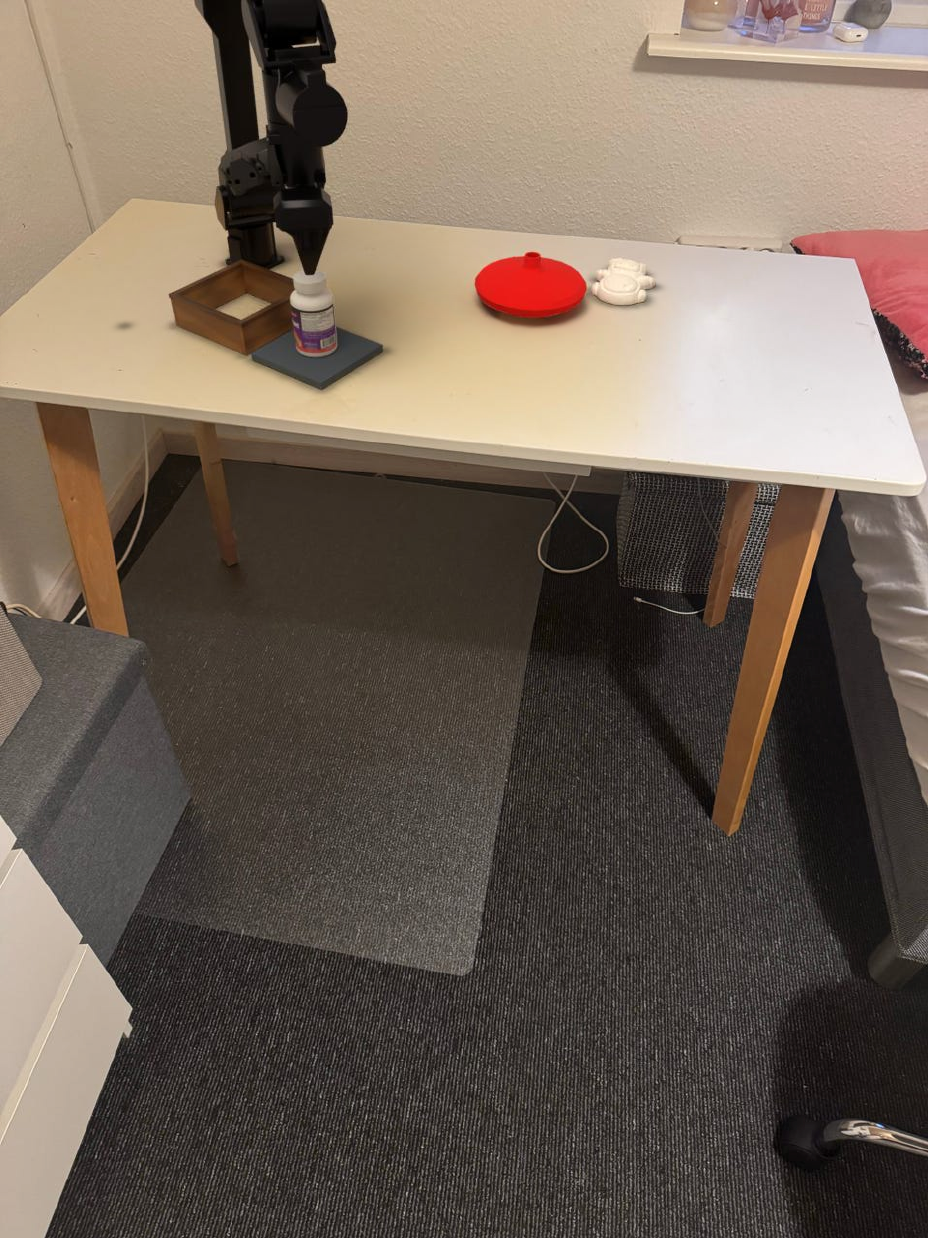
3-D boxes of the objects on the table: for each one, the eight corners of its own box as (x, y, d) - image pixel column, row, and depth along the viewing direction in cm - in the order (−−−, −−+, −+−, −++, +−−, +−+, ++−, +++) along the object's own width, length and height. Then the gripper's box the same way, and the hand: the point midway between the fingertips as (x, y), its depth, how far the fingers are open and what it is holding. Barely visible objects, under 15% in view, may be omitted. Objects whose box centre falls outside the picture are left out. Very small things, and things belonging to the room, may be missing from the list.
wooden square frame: (246, 289, 135) (241, 259, 132) (315, 316, 130) (312, 285, 126) (175, 325, 127) (168, 293, 124) (246, 355, 122) (241, 323, 119)
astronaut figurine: (661, 276, 140) (665, 256, 138) (638, 310, 132) (642, 289, 130) (605, 265, 143) (608, 245, 141) (580, 297, 135) (582, 277, 133)
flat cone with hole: (455, 314, 131) (455, 265, 126) (500, 270, 141) (503, 223, 136) (560, 340, 126) (565, 290, 121) (600, 292, 136) (606, 244, 131)
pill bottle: (296, 338, 123) (288, 266, 116) (337, 337, 124) (331, 265, 117) (294, 359, 119) (286, 285, 112) (337, 358, 120) (331, 285, 113)
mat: (314, 324, 128) (313, 317, 127) (383, 351, 123) (382, 344, 122) (251, 359, 121) (250, 352, 120) (321, 389, 116) (320, 382, 115)
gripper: (219, 92, 107) (240, 229, 118) (216, 149, 94) (239, 297, 105) (317, 89, 109) (328, 225, 120) (327, 145, 96) (339, 291, 107)
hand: (307, 257), depth 113 cm, fingers open, 9 cm apart
